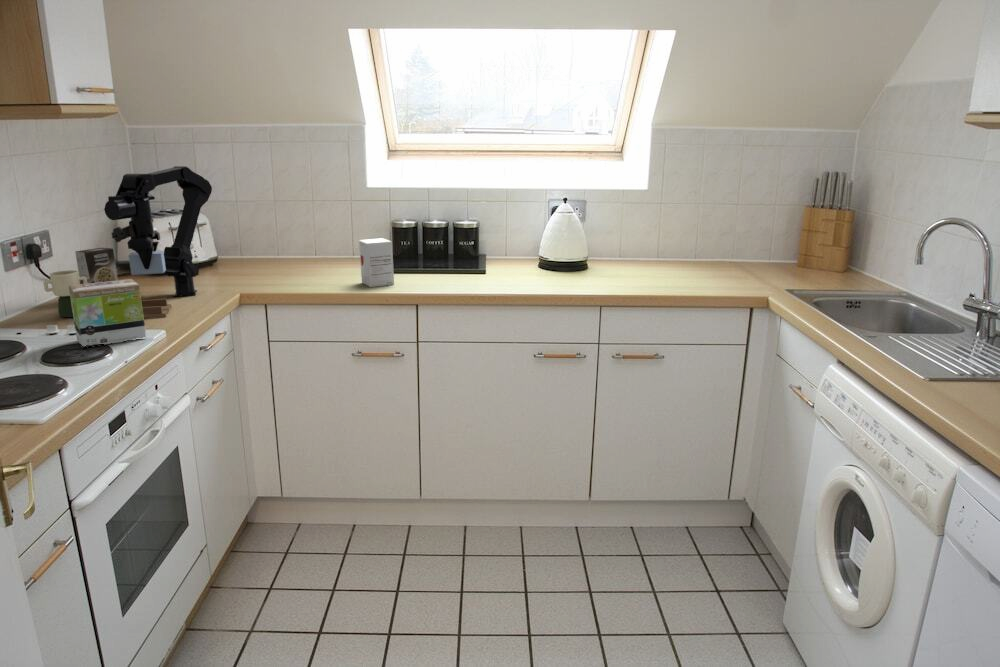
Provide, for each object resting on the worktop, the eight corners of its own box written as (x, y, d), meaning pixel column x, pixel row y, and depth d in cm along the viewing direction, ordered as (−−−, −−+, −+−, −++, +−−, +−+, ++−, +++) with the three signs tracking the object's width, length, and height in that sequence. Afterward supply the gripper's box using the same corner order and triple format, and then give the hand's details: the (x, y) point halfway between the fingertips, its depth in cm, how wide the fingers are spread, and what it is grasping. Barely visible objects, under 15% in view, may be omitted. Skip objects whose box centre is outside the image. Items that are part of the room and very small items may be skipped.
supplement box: (361, 282, 257) (358, 239, 252) (385, 280, 261) (383, 237, 257) (369, 287, 249) (366, 243, 245) (394, 284, 253) (392, 240, 249)
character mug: (92, 311, 222) (85, 268, 218) (92, 316, 216) (85, 272, 212) (50, 316, 217) (42, 272, 213) (49, 321, 211) (41, 276, 207)
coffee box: (94, 303, 232) (86, 252, 227) (82, 301, 235) (73, 250, 230) (121, 297, 239) (113, 248, 235) (109, 295, 242) (101, 246, 238)
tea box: (82, 349, 184) (72, 291, 180) (76, 340, 192) (66, 284, 188) (147, 339, 192) (139, 283, 188) (139, 331, 200) (131, 277, 196)
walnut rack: (121, 311, 222) (119, 301, 221) (171, 307, 225) (170, 297, 224) (112, 321, 211) (110, 310, 210) (165, 317, 214) (164, 306, 213)
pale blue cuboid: (134, 271, 229) (131, 252, 227) (166, 270, 231) (163, 250, 229) (131, 274, 224) (128, 255, 222) (163, 273, 226) (160, 253, 225)
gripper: (118, 214, 229) (125, 263, 234) (104, 221, 212) (113, 275, 216) (157, 212, 232) (163, 261, 236) (146, 219, 215) (154, 272, 219)
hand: (148, 267), depth 227 cm, fingers closed on pale blue cuboid, 5 cm apart
